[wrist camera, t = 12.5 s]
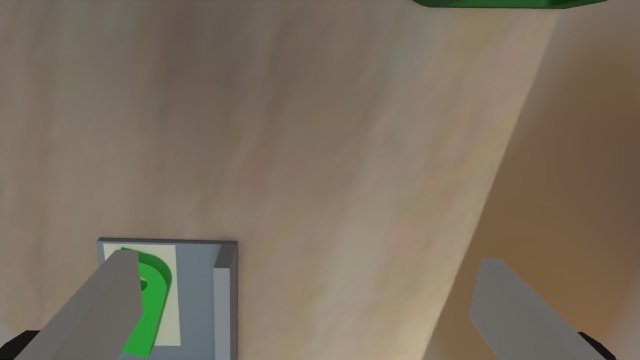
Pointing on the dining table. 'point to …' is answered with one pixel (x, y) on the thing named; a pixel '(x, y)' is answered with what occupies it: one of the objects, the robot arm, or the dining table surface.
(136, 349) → the mechanical part
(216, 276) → the corner arena
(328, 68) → the dining table surface
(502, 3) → the slotted cylinder bracket
